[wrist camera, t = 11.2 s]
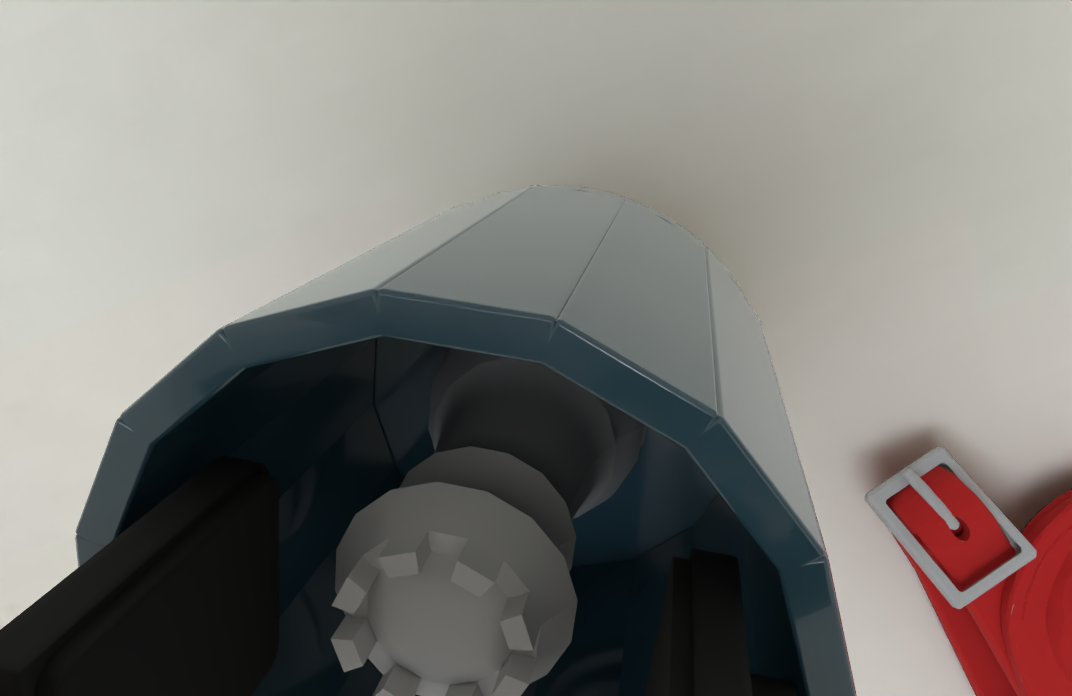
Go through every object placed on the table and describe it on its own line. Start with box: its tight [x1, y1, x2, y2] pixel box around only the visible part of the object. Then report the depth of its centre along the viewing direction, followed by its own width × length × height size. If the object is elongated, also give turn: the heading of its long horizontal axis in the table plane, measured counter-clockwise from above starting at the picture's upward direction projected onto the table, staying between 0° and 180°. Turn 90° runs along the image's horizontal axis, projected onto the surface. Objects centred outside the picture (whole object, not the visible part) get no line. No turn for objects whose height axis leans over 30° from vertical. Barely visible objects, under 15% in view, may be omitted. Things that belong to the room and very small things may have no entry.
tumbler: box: [75, 185, 856, 696], centre depth 13 cm, size 9×9×9 cm
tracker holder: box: [865, 447, 1072, 696], centre depth 24 cm, size 12×4×10 cm
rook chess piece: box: [331, 348, 647, 696], centre depth 13 cm, size 4×4×8 cm
